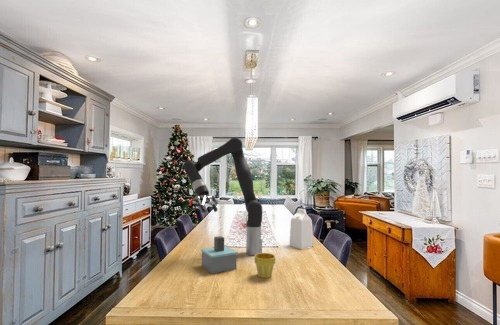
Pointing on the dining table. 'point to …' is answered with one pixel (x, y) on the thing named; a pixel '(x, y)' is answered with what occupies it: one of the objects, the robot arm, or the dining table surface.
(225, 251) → the lid
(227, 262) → the tub
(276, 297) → the dining table surface
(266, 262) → the plant pot
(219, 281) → the dining table surface
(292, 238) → the milk
